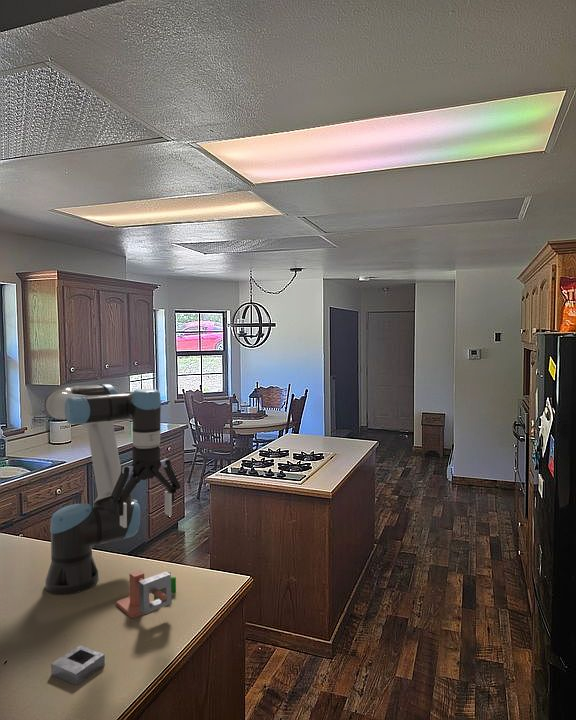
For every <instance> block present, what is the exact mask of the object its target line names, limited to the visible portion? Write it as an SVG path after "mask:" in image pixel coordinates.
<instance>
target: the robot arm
mask: <svg viewBox="0 0 576 720" xmlns="http://www.w3.org/2000/svg"><path fill="white" fill-rule="evenodd" d="M43 406H44V410H45V412H46V414H47V415H48V416H50V417H51V418H53V419H56V420H64V421H65V420H66V422H67V423H68V424H69V425H81V426H83V427H84V428H86V430H87V436H88V440H89V448H90V455H91V460H92V468H93V473H94V481H95V487H96V492H97V493H96V494H97V497H96V499H95V500H94V501H93V504H94V506H93V507H92V505H91V504H89V503H86V502H85V503H84V502H83V503H74V504H70V505H69V504H68V505H67V506H64V507H62V508H59V509H58V510H56V511H55V512H54V513H53V514H52V516H51V518H50V528H49V532H50V557H51V561H50V563H49V564H50V565H49V568H48V572H47V573H46V577H45V590H46V591H47V592H48V593H50V594H53V595H72V594H76V593H80V592H83V591H86V590H88V589H90V588H92V587H94V586H95V585H96V584H97V583H98V582H99V570H98V567H97V565H96V562H95V559H94V557H93V547H94V546H98V545H99V546H100V545H103V544H107V543H111V542H116V541H120V540H121V541H124V539H128V538H131V537H134V536H135V535H136V534H137V533H138V531H139V528H140V524H141V523H140V522H141V507H140V504H139V502H138V501H139V500H137V499H133V498H132V496H131V495H132V494H131V493H132V492H133V490H134V489H135V488H136V486H137V484H139V483H140V482H141V480H142V481H145V480H148V479H153V478H156V479H157V480H158V482H159V483H160V484H161V485H162V486H163V487H164V488H165V489H166V491H164V514H165V515H166V516H168V517H172V515H173V514H172V513H173V512H172V510H173V508H172V506H173V504H174V502H175V494H176V493H177V490H180V489H181V485H180V483H179V480H178V478H177V476H176V475H175V472H174V470H173V468H172V463H171V460H170V459H169V458H166V457H163V458H162V460H161V446H160V444H161V406H162V401H161V392H160V391H159V390H158V389H155V388H154V389H153V388H139V389H135V390H134V391H124V392H123V393H118V390H117V389H116V387H115V386H113V385H112V384H109V383H108V384H107V383H104V384H103V383H96V384H79V385H65V386H61V387H58V388H55V389H53V390H52V391H50V392H49V393H48V394H47V395H46V397H45V399H44V401H43ZM123 420H124V421H126V420H131V421H132V429H131V430H132V432H131V433H132V434H131V435H132V437H131V440H132V441H131V442H132V443H131V444H132V449H131V450H132V452H131V454H132V457H131V458H132V464H131V465H128V466H127V465H124V464H123V465H121V460H120V456H119V450H118V449H119V448H118V444H117V439H116V438H117V437H116V433H115V432H116V431H115V426H114V423H115V422H116V421H123ZM161 467H162V468H163V469H164V472H165V474H166V476H167V477H168V480H169V481H170V482H169V481H168V480H167V479H166V478H165V476H164V475H163V474H162V473H161V472H160V471H159V470H160V468H161ZM131 472H133V473H132V474H131ZM129 475H131V476H130V477H129ZM128 478H129V480H128Z"/></svg>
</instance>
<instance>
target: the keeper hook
mask: <svg viewBox="0 0 576 720" xmlns="http://www.w3.org/2000/svg"><path fill="white" fill-rule="evenodd" d="M128 574H129V596H126V597H125V598H121V599H119V600H116V601H115V605H116V607H118V608H119V609H120V610H121V611H122V612H124V613H125V614H126V615H127V616H128V617H130V618H131V619H135V618H138V617H140V616H143V615H144V614H143V613H142V612H141V611H140V599H139V581H141V580H144V579H145V573H144V572H143V571H141V569H138V570H135V571H133V572H129V573H128ZM151 594H153V596H154V595H155V596H156V597H158V598H159V599H160V600H161V601H164V600H165V599H166V597H167V596H166V594H164V593H162V592H161V591H160V590H158V591H155V592H152V593H151ZM152 601H154V599H152V598H151V597H149V603H150V602H152Z"/></svg>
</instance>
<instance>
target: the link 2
mask: <svg viewBox="0 0 576 720" xmlns="http://www.w3.org/2000/svg"><path fill="white" fill-rule="evenodd" d="M171 577H172V575H171V574H169V573H168V571H164V572H160V573H157V574H155V575H152V576H150V577H146V578H144V580H141V581H139V599H140V611H141V612H142V613H143V615H148V614H150V613H152V612H155V611H157V610H159V609H161V608H164V607H166V606H168V605H172V599H173V598H172V593H171ZM160 589H162V593H164V594H166V596H167V597H166V599H165V600H164V601H161V600H160V599H157V600H155V601H154V600H153V601H152V602H150V603H149V598H150V594H152V592H155V591H158V590H160Z"/></svg>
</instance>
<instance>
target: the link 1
mask: <svg viewBox="0 0 576 720" xmlns="http://www.w3.org/2000/svg"><path fill="white" fill-rule="evenodd" d="M105 658H106V657H105V654H104V653H102V652H99V651H97V650H94V649H92V648H90V647H86V646H83V645H81V644H80V645H78V646H77V647H74V648H73V649H72V650H71V651H68V652H67V653H66V654H63V656H61V657H59V658H57V660H54V661H53V662H51V664H50V672H51V673H50V674H51V676H53V677H56V678H58V679H61V680H63V681H65V682H68V683H71V684H72V685H75V686H78V685H79V684H81V683H82V682H83V681H85V680H86V679H88V678H89V677H90V676H92V675H93V674H94V673H95V672H97V671H99V670H100V669H101V668H102V667H104V666H105V664H106V662H105V661H106V659H105ZM80 661H83V662H84V663H83V664H82V663H80Z"/></svg>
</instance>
